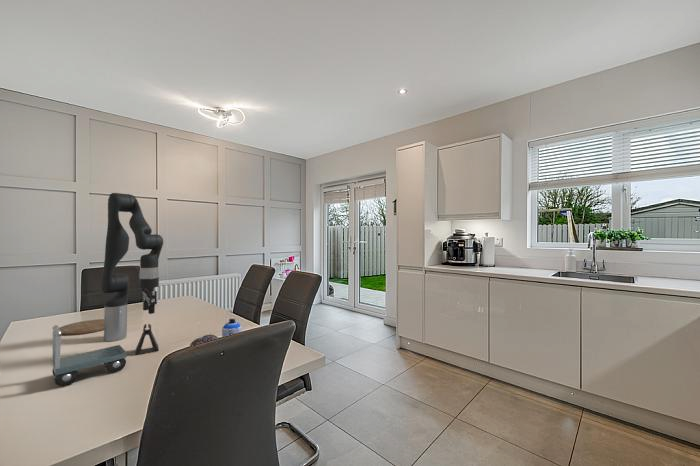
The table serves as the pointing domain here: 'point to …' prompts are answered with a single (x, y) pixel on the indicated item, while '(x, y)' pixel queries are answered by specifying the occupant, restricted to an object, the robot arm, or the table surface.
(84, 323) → the trivet
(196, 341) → the decorative flower
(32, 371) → the table surface
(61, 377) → the trolley
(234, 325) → the aerosol can
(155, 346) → the triangular clip stand
